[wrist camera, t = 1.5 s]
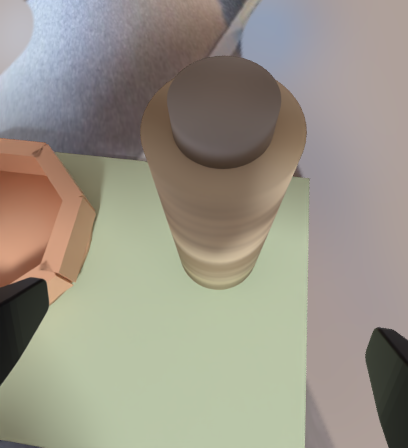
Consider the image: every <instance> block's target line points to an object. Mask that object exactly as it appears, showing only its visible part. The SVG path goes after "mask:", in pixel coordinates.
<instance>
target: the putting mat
mask: <svg viewBox="0 0 408 448" xmlns="http://www.w3.org/2000/svg"><path fill="white" fill-rule="evenodd" d="M54 153H55V154H56V155H57V156H58V158H59V159H60V160H61V162H62V163H63V164H64V166H65V167H66V169H67V170H68V171H69V173H70V174H71V176H72V177H73V179H74V180H75V182H76V183H77V185H78V186H79V187H80V189H81V190H82V191H83V193H84V195H85V196H86V198H87V199H88V201H89V202H90V203H91V205H92V206H93V208H94V209H95V213H96V216H95V219H94V222H93V232H92V241H91V245H90V250H89V252H88V255H87V258H86V261H85V263H84V265H83V267H82V269H81V271H80V272H79V274H78V277H77V280H76V282H73V283H72V284H73V286H72V287H71V288H69V289H68V290H66V291H65V292H64V293H63V294H62V295H61V296H60V297H59V298H58V299H57V300H56V301H55V302H54V303H53V304H51V305H50V306H49V309H48V311H47V313H46V315H45V317H44V318H43V320H42V322H41V324H40V325H39V327H38V329H37V331H36V332H35V334H34V336H33V337H32V339H31V341H30V343H29V344H28V346H27V348H26V350H25V351H24V353H23V354H22V356H21V358H20V359H19V361H18V362H17V364H16V365H15V367H14V368H13V369H12V371H11V372H10V374H9V375H8V376H7V378H6V379H5V380H4V382H3V383H2V385H1V386H0V440H5V441H10V442H16V443H21V444H27V445H32V446H38V447H43V448H305V403H306V346H307V290H308V288H307V287H308V233H309V232H308V231H309V178H300V177H292V179H291V181H290V184H289V186H288V188H287V191H286V193H285V195H284V198H283V200H282V202H281V205H280V207H279V209H278V212H277V214H276V216H275V219H274V221H273V224H272V226H271V228H270V231H269V233H268V235H267V238H266V240H265V242H264V245H263V247H262V249H261V252H260V254H259V256H258V259H257V261H256V263H255V266H254V268H253V270H252V272H251V273H250V275H249V276H248V277H247V278H246V279H245V280H244V281H243V282H242V283H240V284H239V285H237V286H235V287H232V288H229V289H224V290H213V289H208V288H205V287H203V286H201V285H199V284H197V283H196V282H194V281H193V280H192V279H191V278H190V277H189V276H188V275H187V273H186V272H185V270H184V268H183V266H182V263H181V260H180V257H179V254H178V251H177V248H176V245H175V242H174V239H173V236H172V234H171V231H170V228H169V225H168V222H167V219H166V216H165V213H164V210H163V207H162V204H161V201H160V198H159V195H158V192H157V189H156V186H155V183H154V180H153V177H152V174H151V171H150V168H149V165H148V162H146V161H137V160H127V159H118V158H108V157H98V156H89V155H79V154H70V153H60V152H54Z"/></svg>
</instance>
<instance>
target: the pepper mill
mask: <svg viewBox="0 0 408 448" xmlns="http://www.w3.org/2000/svg"><path fill="white" fill-rule="evenodd" d="M306 134H307V131H306V122H305V117H304V114H303V112H302V109H301V107H300V105H299V103H298V102H297V100H296V99H295V98H294V96H293V95H292V94H291V93H290V91H289V90H288V89H286V88H285V87H284V86H283V85H282V84H281V83H279V82H278V81H276V80H275V79H274V78H273V76H272V75H271V74H270V73H269V72H268V71H267V70H266V69H264V68H263V67H262V66H260V65H258V64H257V63H254V62H252V61H250V60H247V59H244V58H240V57H234V56H215V57H209V58H205V59H202V60H199V61H196V62H194V63H192V64H190V65H189V66H187V67H186V68H184V69H183V70H182V71H181V72H179V74H178V75H177V76H176V77H175V78H174V79H172V80H171V81H169V82H168V83H166V84H165V85H164V86H163V87H162V88H160V89H159V91H158V92H157V93H156V94H155V95H154V96H153V97H152V99H151V100H150V102H149V103H148V105H147V107H146V109H145V111H144V114H143V117H142V122H141V130H140V136H141V143H142V147H143V150H144V153H145V156H146V159H147V162H148V165H149V168H150V171H151V174H152V177H153V180H154V183H155V186H156V189H157V192H158V195H159V198H160V201H161V204H162V207H163V210H164V213H165V216H166V219H167V222H168V225H169V228H170V231H171V234H172V236H173V239H174V242H175V245H176V248H177V251H178V254H179V257H180V260H181V263H182V266H183V268H184V270H185V272H186V273H187V275H188V276H189V277H190V278H191V279H192V280H193V281H194V282H196V283H197V284H199V285H201V286H203V287H205V288H208V289H213V290H224V289H229V288H232V287H235V286H237V285H239V284H240V283H242V282H243V281H244V280H245V279H246V278H247V277H248V276H249V275H250V273H251V272H252V270H253V268H254V266H255V263H256V261H257V259H258V256H259V254H260V252H261V249H262V247H263V245H264V242H265V240H266V238H267V235H268V233H269V231H270V228H271V226H272V224H273V221H274V219H275V216H276V214H277V212H278V209H279V207H280V205H281V202H282V200H283V198H284V195H285V193H286V191H287V188H288V186H289V184H290V181H291V179H292V177H293V174H294V172H295V169H296V167H297V165H298V162H299V160H300V158H301V155H302V153H303V150H304V147H305V143H306Z"/></svg>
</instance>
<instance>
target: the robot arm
mask: <svg viewBox="0 0 408 448" xmlns="http://www.w3.org/2000/svg"><path fill="white" fill-rule="evenodd" d="M48 309H49V296H48V288H47V282H46V280H44V279H42V278H35V277H29V278H26V279H23V280H20V281H17V282H15V283H12V284H9V285H6V286H3V287H0V386H1V385H2V383H3V382H4V380H5V379H6V378H7V376H8V375H9V374H10V372H11V371H12V369H13V368H14V367H15V365H16V364H17V362H18V361H19V359H20V358H21V356H22V354H23V353H24V351H25V350H26V348H27V346H28V344H29V343H30V341H31V339H32V337H33V336H34V334H35V332H36V331H37V329H38V327H39V325H40V324H41V322H42V320H43V318H44V317H45V315H46V313H47V311H48ZM365 355H366V356H365V358H366V364H367V369H368V373H369V377H370V382H371V386H372V390H373V395H374V399H375V403H376V408H377V412H378V416H379V420H380V423H381V426H382V429H383V432H384V435H385V438H386V441H387V444H388V447H389V448H408V340H407V339H405V338H404V337H403V336H401V335H400V334H398V333H397V332H396V331H394V330H392V329H386V328H380V327H378V328H376V329H374V331H373V333H372V336H371V338H370V341H369V345H368V347H367V350H366V354H365Z"/></svg>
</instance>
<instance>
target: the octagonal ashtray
mask: <svg viewBox="0 0 408 448" xmlns="http://www.w3.org/2000/svg"><path fill="white" fill-rule="evenodd" d="M95 216H96V213H95V209H94V208H93V206H92V205H91V203H90V202H89V201H88V199H87V198H86V196H85V195H84V193H83V191H82V190H81V189H80V187H79V186H78V185H77V183H76V182H75V180H74V179H73V177H72V176H71V174H70V173H69V171H68V170H67V169H66V167H65V166H64V164H63V163H62V162H61V160H60V159H59V158H58V156H57V155H56V154H55V153H54V151H53V150H52V149H51V147H50V146H49V145H48V144H46V143H44V142H34V141H25V140H15V139H5V138H0V287H3V286H6V285H9V284H12V283H15V282H17V281H20V280H23V279H26V278H29V277H35V278H42V279H44V280H46V282H47V288H48V296H49V306H50V305H51V304H53V303H54V302H55V301H56V300H57V299H58V298H59V297H60V296H61V295H62V294H63V293H64V292H65V291H66V290H68V289H69V288H71V287H72V286H73V284H72V283H73V282H76V280H77V277H78V274H79V272H80V271H81V269H82V267H83V265H84V263H85V261H86V258H87V255H88V252H89V250H90V245H91V241H92V232H93V222H94V219H95Z"/></svg>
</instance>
